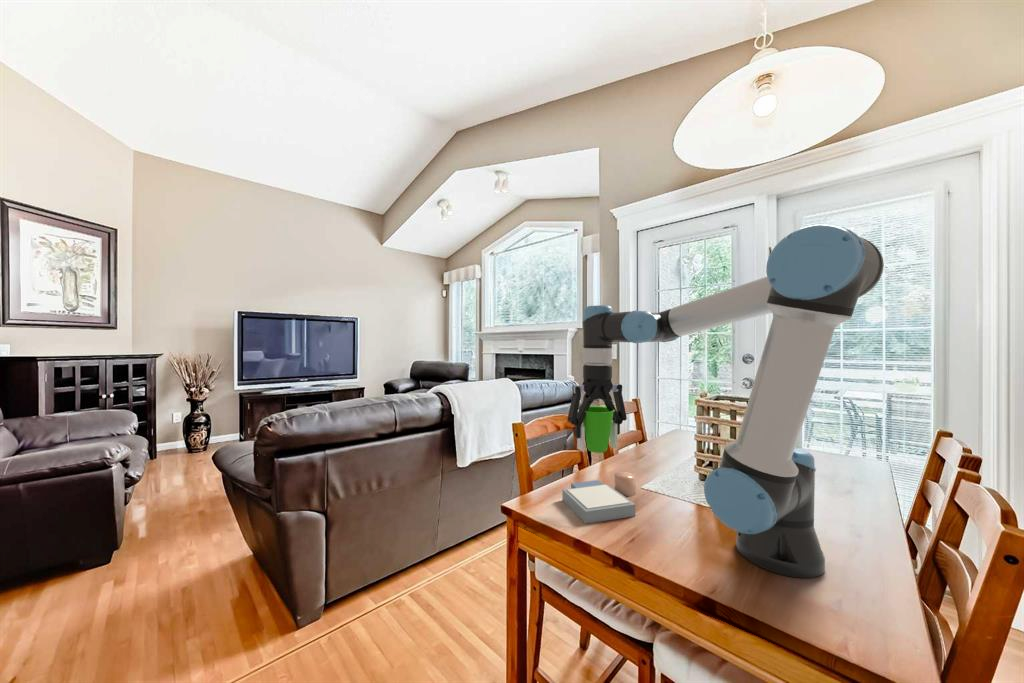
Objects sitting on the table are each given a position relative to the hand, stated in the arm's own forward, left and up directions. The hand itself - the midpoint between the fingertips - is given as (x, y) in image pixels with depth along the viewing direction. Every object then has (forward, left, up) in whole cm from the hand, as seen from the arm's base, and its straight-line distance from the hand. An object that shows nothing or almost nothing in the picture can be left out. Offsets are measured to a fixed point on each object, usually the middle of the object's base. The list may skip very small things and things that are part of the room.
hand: (597, 448), depth 103 cm
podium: (0, 0, -16) cm, 16 cm away
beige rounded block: (+7, -13, -16) cm, 22 cm away
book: (+10, -3, -16) cm, 19 cm away
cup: (0, 0, -1) cm, 1 cm away
